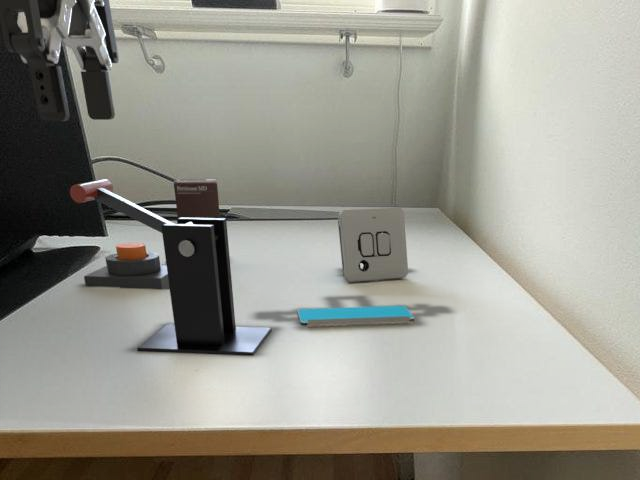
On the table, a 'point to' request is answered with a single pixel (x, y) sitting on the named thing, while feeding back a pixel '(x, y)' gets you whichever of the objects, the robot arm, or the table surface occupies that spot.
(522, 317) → the table surface
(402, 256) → the electrical switch
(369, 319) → the blue book
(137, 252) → the button
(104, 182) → the lever
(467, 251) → the table surface
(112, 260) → the button box
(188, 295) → the bracket
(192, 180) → the box
